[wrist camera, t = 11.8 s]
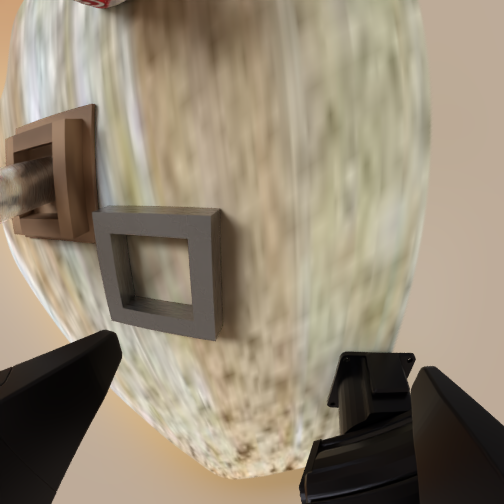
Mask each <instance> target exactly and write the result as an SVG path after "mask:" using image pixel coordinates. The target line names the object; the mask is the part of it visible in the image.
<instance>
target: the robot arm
mask: <svg viewBox="0 0 504 504" xmlns="http://www.w3.org/2000/svg"><path fill="white" fill-rule="evenodd" d="M346 357H348V359H344V358H346ZM410 358H411V359H410ZM121 359H122V350H121V347H120V344H119V340H118V337H117V334H116V333H115V332H112V331H109V330H102V331H99V332H97V333H94V334H92V335H89V336H87V337H85V338H82V339H80V340H77V341H75V342H72V343H70V344H67V345H65V346H63V347H60V348H58V349H55V350H53V351H50V352H48V353H46V354H43V355H40V356H38V357H35V358H33V359H30V360H28V361H25V362H23V363H20V364H18V365H15V366H13V367H10V368H7V369H5V370H2V371H0V504H51V503H52V501H53V499H54V497H55V495H56V491H57V490H58V488H59V486H60V484H61V481H62V479H63V477H64V475H65V473H66V471H67V469H68V467H69V465H70V462H71V461H72V459H73V457H74V455H75V453H76V451H77V449H78V447H79V445H80V443H81V441H82V439H83V437H84V435H85V434H86V432H87V430H88V428H89V426H90V424H91V422H92V420H93V419H94V417H95V415H96V413H97V411H98V409H99V407H100V406H101V404H102V402H103V400H104V398H105V396H106V394H107V392H108V389H109V387H110V385H111V382H112V380H113V378H114V375H115V373H116V371H117V368H118V366H119V364H120V362H121ZM408 359H409V360H408ZM415 360H416V359H415V356H414V354H413V353H368V352H344V353H342V354H341V355H340V358H339V362H338V366H337V369H336V373H335V377H334V380H333V384H332V387H331V390H330V394H329V397H328V400H327V405H328V406H329V407H337V408H339V425H340V435H339V436H336V437H332V438H328V439H325V440H321V439H320V440H317V441H314V442H313V445H312V448H311V452H310V455H309V458H308V461H307V464H306V467H305V470H304V473H303V476H302V479H301V482H300V485H299V490H300V497H301V501H302V504H504V426H503V425H502V424H501V423H500V422H499V421H498V420H497V419H495V418H494V417H493V416H492V415H491V414H490V413H489V412H488V411H486V410H485V409H484V408H483V407H482V406H481V405H480V404H478V403H477V402H476V401H475V400H474V399H473V398H472V397H470V396H469V395H468V394H467V393H466V392H465V391H463V390H462V389H461V388H460V387H459V386H458V385H456V384H455V383H454V382H453V381H452V380H451V379H449V378H448V377H447V376H446V375H445V374H443V373H442V372H441V371H440V370H439V369H438V368H436V367H434V366H427V367H422V368H421V370H420V371H419V373H418V375H417V378H416V380H415V381H414V383H413V385H412V388H411V395H410V391H409V390H410V388H409V385H408V382H407V378H408V376H409V373H410V371H411V369H412V367H413V365H414V362H415Z"/></svg>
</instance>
